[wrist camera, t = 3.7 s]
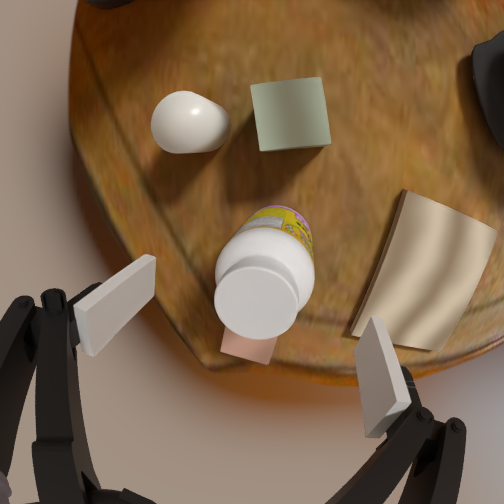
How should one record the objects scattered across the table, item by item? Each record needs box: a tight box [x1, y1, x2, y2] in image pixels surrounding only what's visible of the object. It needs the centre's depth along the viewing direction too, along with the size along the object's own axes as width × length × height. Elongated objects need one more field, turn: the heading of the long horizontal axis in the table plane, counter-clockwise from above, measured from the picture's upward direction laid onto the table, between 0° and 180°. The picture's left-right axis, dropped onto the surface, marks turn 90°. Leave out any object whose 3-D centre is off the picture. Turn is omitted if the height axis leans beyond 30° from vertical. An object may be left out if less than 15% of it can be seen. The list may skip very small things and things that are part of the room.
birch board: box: [350, 189, 498, 352], centre depth 25 cm, size 13×16×1 cm
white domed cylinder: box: [151, 91, 231, 154], centre depth 21 cm, size 5×5×6 cm
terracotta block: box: [220, 326, 278, 365], centre depth 28 cm, size 5×5×5 cm
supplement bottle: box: [214, 206, 314, 340], centre depth 21 cm, size 7×7×13 cm
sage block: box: [250, 77, 331, 152], centre depth 20 cm, size 5×5×6 cm
